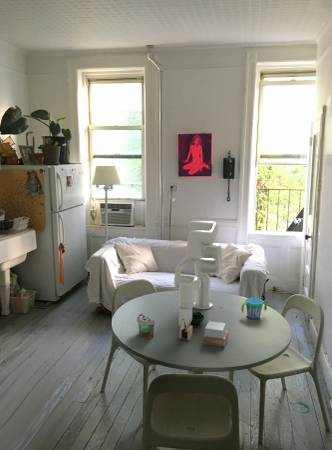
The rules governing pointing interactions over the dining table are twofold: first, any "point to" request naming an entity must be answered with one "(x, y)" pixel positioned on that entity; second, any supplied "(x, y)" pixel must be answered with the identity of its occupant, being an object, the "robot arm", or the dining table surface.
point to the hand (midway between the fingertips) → (186, 335)
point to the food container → (145, 326)
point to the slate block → (215, 329)
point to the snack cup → (254, 307)
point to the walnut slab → (216, 340)
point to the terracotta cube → (189, 332)
